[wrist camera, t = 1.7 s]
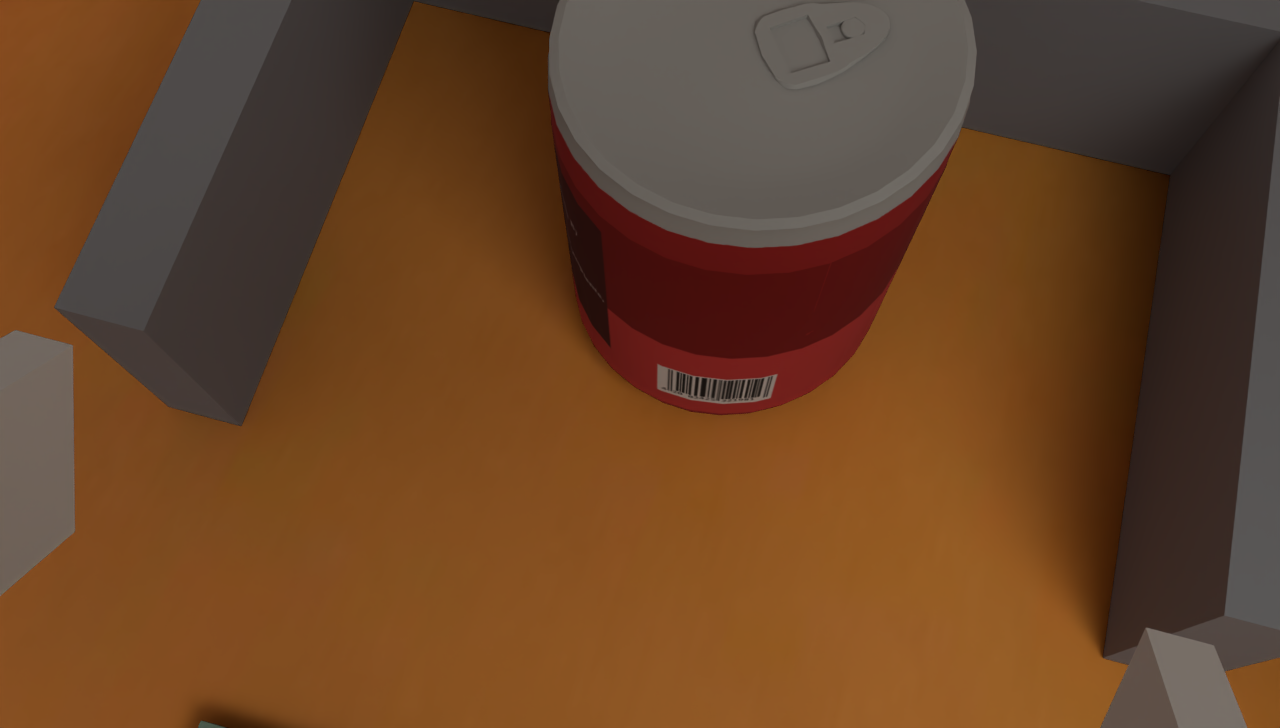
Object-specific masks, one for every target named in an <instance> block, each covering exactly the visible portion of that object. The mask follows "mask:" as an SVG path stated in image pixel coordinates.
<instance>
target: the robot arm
mask: <svg viewBox="0 0 1280 728" xmlns="http://www.w3.org/2000/svg"><path fill="white" fill-rule="evenodd" d="M74 532H75V494H74V404H73V345H70V344H66V343H63V342H59V341H55V340H51V339H47V338H44V337H40V336H36V335H32V334H28V333H25V332H21V331H17V330H15V331H13V332H11V333H9V334H8V335H6V336H4V337H2V338H1V339H0V596H1V595H2V594H3V593H4V592H5V591H7V590H8V589H9V588H10V587H11V586H12V585H14V584H15V583H16V582H17V581H18V580H19V579H21V578H22V577H23V576H24V575H25V574H26V573H28V572H29V571H30V570H31V569H32V568H33V567H34V566H36V565H37V564H38V563H39V562H40V561H41V560H43V559H44V558H45V557H46V556H47V555H48V554H50V553H51V552H52V551H53V550H54V549H55V548H57V547H58V546H59V545H60V544H61V543H62V542H64V541H65V540H66V539H67V538H68V537H69V536H70V535H72V534H73V533H74ZM1100 728H1247V726H1246V723H1245V721H1244V718H1243V716H1242V713H1241V711H1240V709H1239V706H1238V704H1237V701H1236V699H1235V696H1234V694H1233V691H1232V689H1231V686H1230V684H1229V681H1228V679H1227V676H1226V674H1225V671H1224V669H1223V666H1222V664H1221V662H1220V659H1219V657H1218V654H1217V652H1216V649H1215V647H1214V645H1211V644H1207V643H1203V642H1199V641H1196V640H1192V639H1188V638H1184V637H1180V636H1177V635H1173V634H1169V633H1165V632H1161V631H1158V630H1154V629H1150V628H1145V630H1144V632H1143V635H1142V637H1141V639H1140V641H1139V644H1138V646H1137V648H1136V650H1135V652H1134V655H1133V657H1132V659H1131V661H1130V663H1129V666H1128V668H1127V670H1126V672H1125V674H1124V677H1123V679H1122V681H1121V683H1120V685H1119V688H1118V690H1117V692H1116V694H1115V696H1114V699H1113V701H1112V703H1111V705H1110V707H1109V710H1108V712H1107V714H1106V716H1105V718H1104V721H1103V723H1102V725H1101V727H1100Z"/></svg>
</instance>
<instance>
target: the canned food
mask: <svg viewBox="0 0 1280 728" xmlns="http://www.w3.org/2000/svg"><path fill="white" fill-rule="evenodd" d="M976 55H977V49H976V42H975V36H974V29H973V23H972V17H971V14H970V12H969V9H968V7H967V5H966V2H965V0H560V1H559V3H558V5H557V8H556V12H555V17H554V21H553V25H552V30H551V34H550V38H549V54H548V94H549V101H550V109H551V125H552V132H553V139H554V146H555V153H556V160H557V167H558V174H559V181H560V188H561V195H562V202H563V209H564V216H565V223H566V230H567V237H568V244H569V251H570V258H571V265H572V272H573V280H574V287H575V294H576V298H577V303H578V307H579V311H580V315H581V319H582V322H583V324H584V326H585V328H586V330H587V332H588V334H589V336H590V338H591V340H592V342H593V344H594V346H595V348H596V349H597V350H598V351H599V353H600V354H601V355H602V356H603V358H604V359H605V360H606V361H607V363H608V364H609V365H610V366H611V368H612V369H614V370H615V371H616V372H617V373H618V374H620V375H621V376H622V377H623V378H625V379H626V380H627V381H628V382H629V383H631V384H632V385H633V386H634V387H636V388H638V389H639V390H641V391H643V392H645V393H647V394H648V395H650V396H652V397H654V398H656V399H658V400H660V401H661V402H663V403H666V404H669V405H672V406H675V407H678V408H682V409H685V410H688V411H691V412H699V413H707V414H715V415H728V414H745V413H751V412H756V411H760V410H764V409H768V408H772V407H776V406H779V405H783V404H785V403H787V402H789V401H791V400H794V399H796V398H798V397H800V396H803V395H805V394H807V393H809V392H811V391H812V390H814V389H815V388H817V387H818V386H819V385H821V384H822V383H824V382H825V381H826V380H828V379H829V378H831V377H832V376H834V375H835V374H836V373H837V372H838V370H839V369H840V368H841V367H842V366H843V365H844V364H845V363H846V362H847V361H848V360H849V359H850V358H851V357H852V356H853V355H854V353H855V352H856V350H857V348H858V347H859V345H860V343H861V342H862V340H863V339H864V337H865V335H866V334H867V332H868V330H869V328H870V326H871V324H872V322H873V320H874V318H875V315H876V313H877V311H878V309H879V307H880V305H881V303H882V301H883V299H884V296H885V294H886V292H887V290H888V288H889V286H890V284H891V282H892V280H893V277H894V275H895V273H896V271H897V269H898V267H899V265H900V263H901V261H902V258H903V256H904V254H905V252H906V250H907V248H908V246H909V244H910V241H911V239H912V237H913V235H914V233H915V231H916V229H917V227H918V225H919V222H920V220H921V218H922V216H923V214H924V212H925V210H926V208H927V206H928V203H929V201H930V199H931V197H932V195H933V193H934V191H935V189H936V187H937V184H938V182H939V180H940V178H941V176H942V174H943V172H944V170H945V167H946V165H947V162H948V159H949V156H950V154H951V152H952V149H953V147H954V145H955V143H956V141H957V139H958V136H959V133H960V130H961V127H962V124H963V122H964V119H965V116H966V113H967V110H968V107H969V104H970V96H971V93H972V90H973V87H974V78H975V67H976Z"/></svg>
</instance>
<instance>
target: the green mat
mask: <svg viewBox="0 0 1280 728" xmlns="http://www.w3.org/2000/svg"><path fill="white" fill-rule="evenodd" d="M198 728H226V727H223V726H220V725H216V724H213V723H209V722H205V721H200V724H199V726H198Z"/></svg>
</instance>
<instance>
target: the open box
mask: <svg viewBox="0 0 1280 728" xmlns="http://www.w3.org/2000/svg"><path fill="white" fill-rule="evenodd" d="M413 1H416V2H421V3H425V4H429V5H434V6H438V7H442V8H447V9H451V10H455V11H460V12H464V13H468V14H473V15H477V16H481V17H486V18H490V19H494V20H499V21H503V22H507V23H512V24H516V25H520V26H525V27H529V28H533V29H538V30H542V31H546V32H551V30H552V25H553V21H554V17H555V12H556V8H557V5H558V3H559V1H560V0H201V1H200V3H199V5H198V7H197V10H196V12H195V14H194V16H193V18H192V20H191V22H190V24H189V26H188V28H187V30H186V33H185V35H184V37H183V39H182V41H181V43H180V45H179V47H178V49H177V51H176V53H175V56H174V58H173V60H172V62H171V64H170V66H169V68H168V70H167V72H166V74H165V77H164V79H163V81H162V83H161V85H160V87H159V89H158V91H157V93H156V95H155V97H154V100H153V102H152V104H151V106H150V108H149V110H148V112H147V114H146V116H145V118H144V120H143V123H142V125H141V127H140V129H139V131H138V133H137V135H136V137H135V139H134V141H133V143H132V146H131V148H130V150H129V152H128V154H127V156H126V158H125V160H124V162H123V164H122V167H121V169H120V171H119V173H118V175H117V177H116V179H115V181H114V183H113V185H112V187H111V190H110V192H109V194H108V196H107V198H106V200H105V202H104V204H103V206H102V208H101V210H100V213H99V215H98V217H97V219H96V221H95V223H94V225H93V227H92V229H91V231H90V233H89V236H88V238H87V240H86V242H85V244H84V246H83V248H82V250H81V252H80V254H79V257H78V259H77V261H76V263H75V265H74V267H73V269H72V271H71V273H70V275H69V277H68V280H67V282H66V284H65V286H64V288H63V290H62V292H61V294H60V296H59V298H58V300H57V303H56V305H55V307H54V308H55V309H56V310H58V311H59V312H60V313H61V314H62V315H63V316H64V317H66V318H67V319H68V320H69V321H70V322H71V323H73V324H74V325H75V326H76V327H77V328H78V329H79V330H81V331H82V332H83V333H84V334H85V335H86V336H88V337H89V338H90V339H91V340H92V341H93V342H94V343H96V344H97V345H98V346H99V347H100V348H101V349H103V350H104V351H105V352H106V353H107V354H108V355H110V356H111V357H112V358H113V359H114V360H115V361H116V362H118V363H119V364H120V365H121V366H122V367H123V368H125V369H126V370H127V371H128V372H129V373H130V374H131V375H133V376H134V377H135V378H136V379H137V380H138V381H140V382H141V383H142V384H143V385H144V386H145V387H146V388H148V389H149V390H150V391H151V392H152V393H153V394H155V395H156V396H157V397H158V398H159V399H160V400H161V401H163V402H164V403H165V404H166V405H167V406H168V407H172V408H175V409H179V410H183V411H187V412H190V413H194V414H198V415H201V416H205V417H209V418H213V419H216V420H220V421H224V422H227V423H231V424H235V425H239V426H242V423H243V421H244V418H245V416H246V413H247V411H248V408H249V406H250V403H251V401H252V398H253V396H254V393H255V391H256V389H257V386H258V384H259V381H260V379H261V376H262V374H263V371H264V369H265V366H266V364H267V361H268V359H269V356H270V354H271V352H272V349H273V347H274V344H275V342H276V339H277V337H278V334H279V332H280V329H281V327H282V324H283V322H284V319H285V317H286V314H287V312H288V310H289V307H290V305H291V302H292V300H293V297H294V295H295V292H296V290H297V287H298V285H299V282H300V280H301V277H302V275H303V273H304V270H305V268H306V265H307V263H308V260H309V258H310V255H311V253H312V250H313V248H314V245H315V243H316V240H317V238H318V236H319V233H320V231H321V228H322V226H323V223H324V221H325V218H326V216H327V213H328V211H329V208H330V206H331V203H332V201H333V198H334V196H335V194H336V191H337V189H338V186H339V184H340V181H341V179H342V176H343V174H344V171H345V169H346V166H347V164H348V161H349V159H350V157H351V154H352V152H353V149H354V147H355V144H356V142H357V139H358V137H359V134H360V132H361V129H362V127H363V124H364V122H365V120H366V117H367V115H368V112H369V110H370V107H371V105H372V102H373V100H374V97H375V95H376V92H377V90H378V87H379V85H380V82H381V80H382V78H383V75H384V73H385V70H386V68H387V65H388V63H389V60H390V58H391V55H392V53H393V50H394V48H395V45H396V43H397V41H398V38H399V36H400V33H401V31H402V28H403V26H404V23H405V21H406V18H407V16H408V13H409V11H410V8H411V6H412V4H413ZM965 2H966V5H967V7H968V9H969V12H970V14H971V17H972V23H973V29H974V36H975V42H976V49H977V55H976V67H975V78H974V87H973V90H972V93H971V96H970V104H969V107H968V110H967V113H966V116H965V119H964V122H963V124H962V127H963V128H968V129H972V130H976V131H981V132H985V133H989V134H994V135H998V136H1002V137H1007V138H1011V139H1015V140H1020V141H1024V142H1029V143H1033V144H1037V145H1042V146H1046V147H1050V148H1055V149H1059V150H1063V151H1068V152H1072V153H1076V154H1081V155H1085V156H1089V157H1094V158H1098V159H1102V160H1107V161H1111V162H1115V163H1120V164H1124V165H1128V166H1133V167H1137V168H1141V169H1146V170H1150V171H1154V172H1159V173H1163V174H1167V175H1170V179H1169V187H1168V194H1167V201H1166V208H1165V215H1164V223H1163V230H1162V237H1161V244H1160V251H1159V259H1158V266H1157V273H1156V280H1155V287H1154V295H1153V302H1152V309H1151V316H1150V323H1149V331H1148V338H1147V345H1146V352H1145V359H1144V367H1143V374H1142V381H1141V388H1140V395H1139V403H1138V410H1137V417H1136V424H1135V431H1134V439H1133V446H1132V453H1131V460H1130V467H1129V475H1128V482H1127V489H1126V496H1125V503H1124V511H1123V518H1122V525H1121V532H1120V539H1119V547H1118V554H1117V561H1116V568H1115V575H1114V583H1113V590H1112V597H1111V604H1110V611H1109V619H1108V626H1107V633H1106V640H1105V647H1104V655H1103V658H1105V659H1109V660H1112V661H1116V662H1120V663H1124V664H1127V665H1129V663H1130V661H1131V659H1132V657H1133V655H1134V652H1135V650H1136V648H1137V646H1138V644H1139V641H1140V639H1141V637H1142V635H1143V632H1144V630H1145V628H1150V629H1154V630H1158V631H1161V632H1165V633H1169V634H1173V635H1177V636H1180V637H1184V638H1188V639H1192V640H1196V641H1199V642H1203V643H1207V644H1211V645H1214V647H1215V649H1216V652H1217V654H1218V657H1219V659H1220V662H1221V664H1222V666H1223V669H1224V671H1228V670H1232V669H1236V668H1240V667H1243V666H1247V665H1251V664H1255V663H1259V662H1263V661H1267V660H1271V659H1275V658H1279V657H1280V0H965Z"/></svg>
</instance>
